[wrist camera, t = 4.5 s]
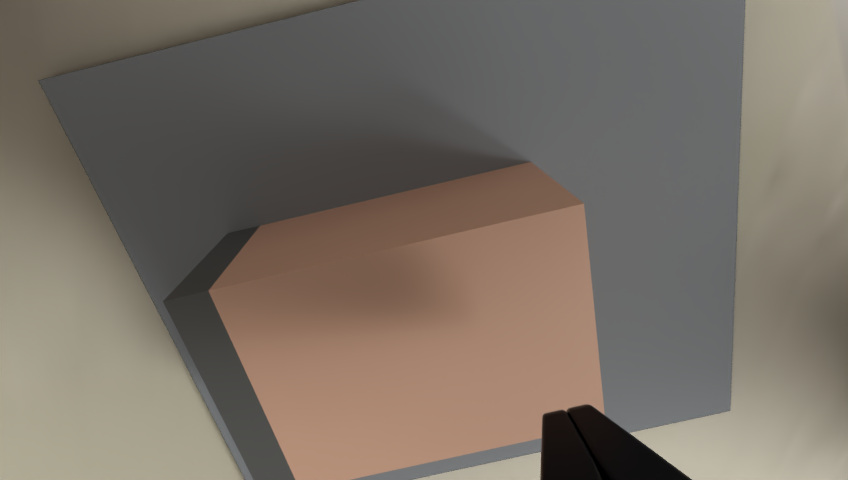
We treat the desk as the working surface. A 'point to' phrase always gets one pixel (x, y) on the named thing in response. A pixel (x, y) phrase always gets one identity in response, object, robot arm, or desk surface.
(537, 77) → the rubber mat
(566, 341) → the terracotta block
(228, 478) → the desk surface
